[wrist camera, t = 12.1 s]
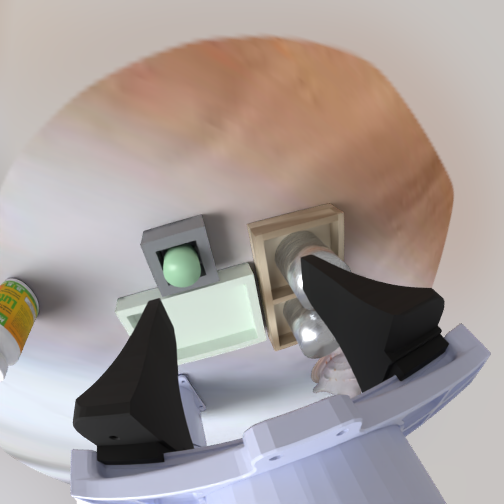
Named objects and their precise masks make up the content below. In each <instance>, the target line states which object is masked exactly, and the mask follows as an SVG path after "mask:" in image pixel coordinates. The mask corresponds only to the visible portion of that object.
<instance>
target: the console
mask: <svg viewBox="0 0 504 504" xmlns="http://www.w3.org/2000/svg"><path fill="white" fill-rule="evenodd" d="M184 243H187V244H190V245H191V246H193V247H194V248H195V249H196V251H197V253H198V257H199V262H200V267H201V274H200V277H199V279H198V280H197V281H196V282H195V283H194V284H193V285H191V286H188V287H176V286H173V285H171V284H170V283H168V282H167V280H166V279H165V277H164V274H163V265H164V254H165V252H166V250H167V249H168V248H170V247H174V246H177V245H181V244H184ZM140 245H141V248H142V250H143V253H144V255H145V258H146V260H147V263H148V265H149V268H150V270H151V272H152V275H153V277H154V279H155V282H156V284H157V286H158V289H159V291H160V293H161V295H162V297H164V296H168V295H172V294H175V293H179V292H182V291H186V290H190V289H193V288H197V287H200V286H204V285H207V284H211V283H215V282H218V281H220V280H219V276H218V273H217V269H216V266H215V262H214V259H213V255H212V251H211V248H210V244H209V240H208V237H207V233H206V229H205V225H204V222H203V218H202V215H198V216H194V217H191V218H187V219H184V220H180V221H177V222H173V223H170V224H167V225H163V226H160V227H156V228H153V229H150V230H147V231H144V232H143V236H142V240H141V244H140Z"/></svg>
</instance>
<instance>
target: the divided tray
mask: <svg viewBox="0 0 504 504" xmlns="http://www.w3.org/2000/svg"><path fill="white" fill-rule="evenodd" d="M247 227H248V233H249V238H250V243H251V248H252V253H253V259H254V264H255V269H256V274H257V280H258V285H259V290H260V295H261V301H262V306H263V311H264V316H265V321H266V327H267V332H268V337H269V339H270V341H271V343H272V346H273V348H274V350H275V351H278V350H281V349H284V348H287V347H290V346H293V345H296V344H298V342H297V340H296V338H295V336H294V335H293V333H292V331H291V329H290V327H289V325H288V323H287V321H286V319H285V317H284V315H283V307H284V304H285V302H286V301H288V300H291V299H294V298H297V297H296V295H295V294H294V292H293V291H292V289H291V287H290V286H289V284H288V283H287V281H286V280H285V278H284V277H283V275H282V274H281V272H280V271H279V269H278V268H277V266H276V263H275V252H276V249H277V247H278V245H279V244H280V242H281V241H282V240H283V239H284V238H285V237H286V236H288V235H289V234H291V233H294V232H298V231H309V232H311V233H313V234H314V235H316V236H317V237H318V238H319V239H320V240H321V241H322V242H323V243H324V244H325V245H326V246H328V247H329V248H330V249H331V250H332V251H333V252H334V253H335V254H336V255H337V256H338V257H339V258H340V259H341V260H342V261H343V262H344V212H342V211H341V210H339V209H338V208H336V207H335V206H333V205H331V204H330V203H329V204H325V205H321V206H316V207H312V208H308V209H304V210H300V211H296V212H292V213H288V214H284V215H280V216H276V217H273V218H269V219H265V220H261V221H257V222H253V223H250V224H247Z"/></svg>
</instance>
